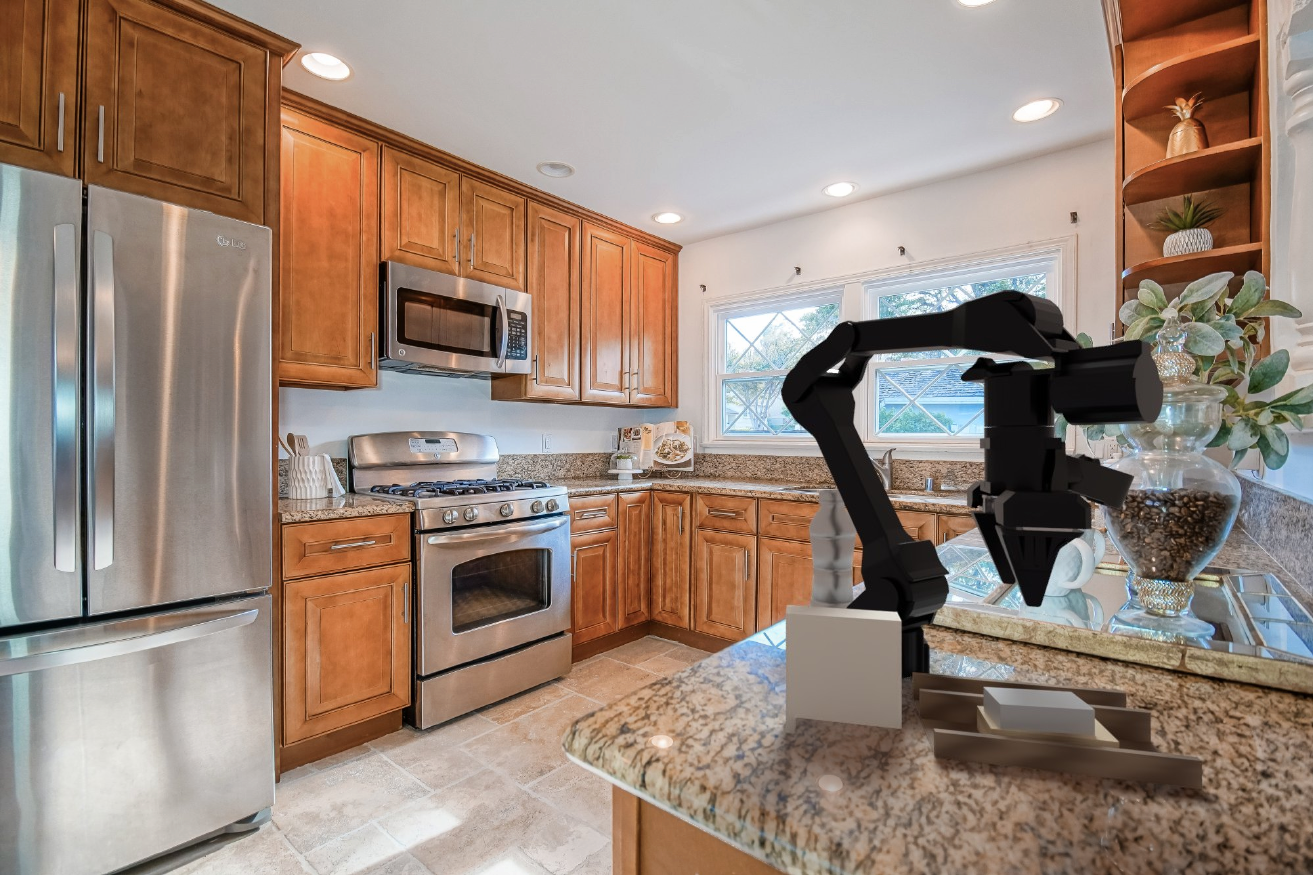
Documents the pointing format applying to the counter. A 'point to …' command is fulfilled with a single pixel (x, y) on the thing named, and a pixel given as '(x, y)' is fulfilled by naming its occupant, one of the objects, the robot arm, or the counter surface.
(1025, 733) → the oak offcut
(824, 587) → the plastic bottle
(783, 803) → the counter surface
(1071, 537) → the robot arm
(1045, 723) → the grey offcut
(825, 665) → the panel
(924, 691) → the rack
